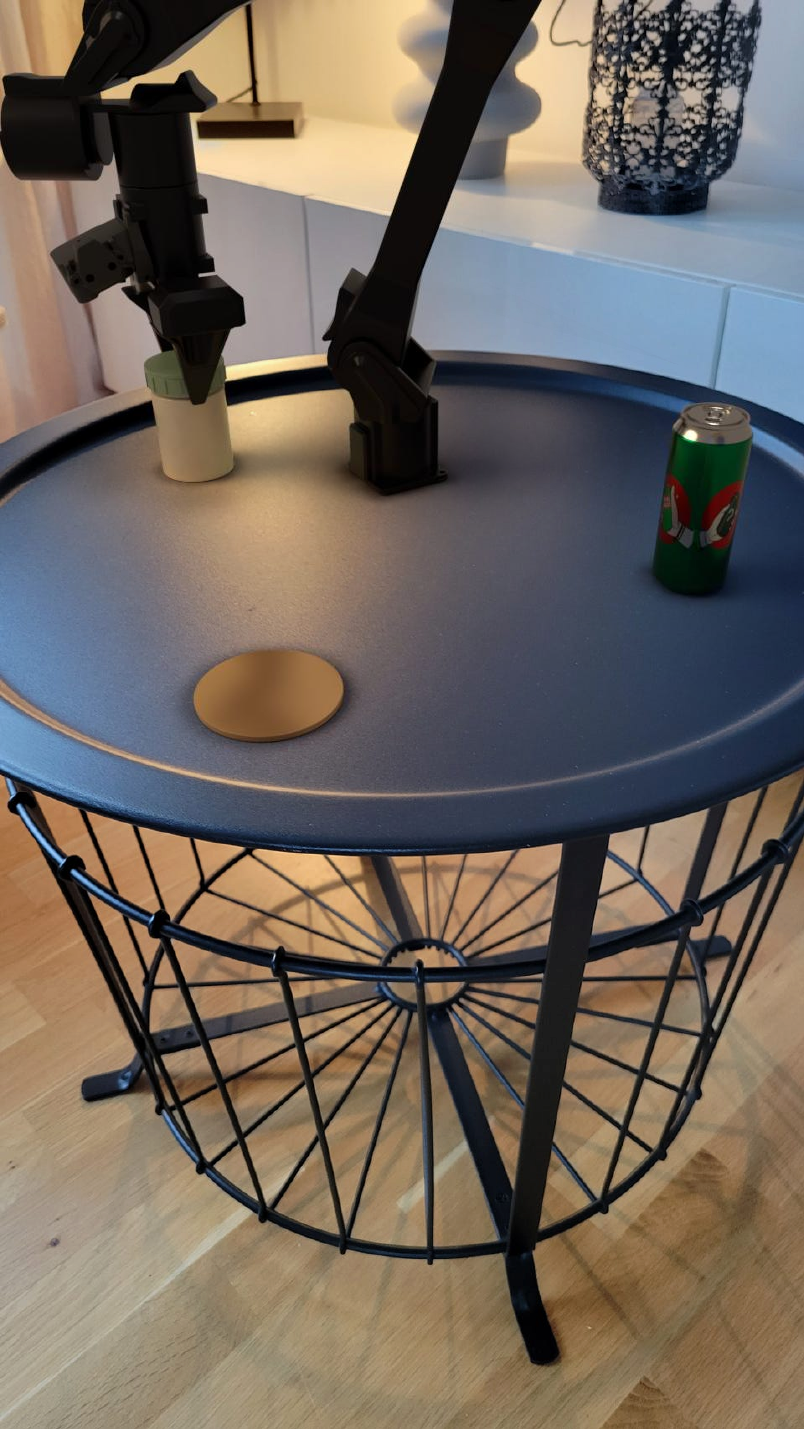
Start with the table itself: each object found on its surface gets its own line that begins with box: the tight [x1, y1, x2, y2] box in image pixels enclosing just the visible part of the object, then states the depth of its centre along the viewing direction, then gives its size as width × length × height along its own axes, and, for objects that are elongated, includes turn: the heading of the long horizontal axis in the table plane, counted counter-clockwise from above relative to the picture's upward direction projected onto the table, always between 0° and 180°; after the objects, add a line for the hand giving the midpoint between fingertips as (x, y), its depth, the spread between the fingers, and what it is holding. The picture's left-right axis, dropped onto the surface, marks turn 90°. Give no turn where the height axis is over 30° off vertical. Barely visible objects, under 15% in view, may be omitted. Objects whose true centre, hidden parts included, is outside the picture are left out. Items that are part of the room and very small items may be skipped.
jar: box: [150, 383, 235, 483], centre depth 88 cm, size 6×6×8 cm
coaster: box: [193, 649, 345, 743], centre depth 64 cm, size 9×9×1 cm
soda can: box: [651, 401, 754, 595], centre depth 70 cm, size 5×5×12 cm
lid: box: [143, 350, 228, 396], centre depth 86 cm, size 6×6×2 cm
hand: (187, 390), depth 87 cm, fingers closed on lid, 6 cm apart
